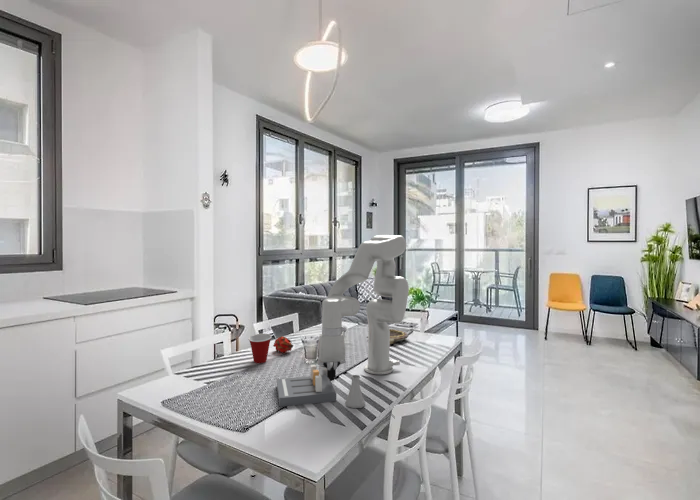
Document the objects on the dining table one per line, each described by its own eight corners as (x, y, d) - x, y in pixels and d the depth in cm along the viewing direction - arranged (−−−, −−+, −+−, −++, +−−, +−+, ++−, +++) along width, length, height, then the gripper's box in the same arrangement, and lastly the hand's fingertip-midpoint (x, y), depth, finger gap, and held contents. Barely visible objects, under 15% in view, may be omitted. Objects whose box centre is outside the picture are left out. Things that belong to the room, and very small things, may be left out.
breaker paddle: (317, 382, 142) (317, 369, 142) (318, 385, 140) (319, 371, 140) (312, 383, 142) (312, 370, 142) (313, 385, 139) (313, 372, 139)
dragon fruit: (276, 352, 196) (291, 360, 189) (266, 345, 190) (281, 353, 183) (284, 337, 199) (300, 345, 192) (275, 330, 193) (290, 338, 186)
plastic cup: (243, 363, 173) (243, 337, 172) (257, 356, 183) (257, 332, 182) (262, 366, 169) (262, 340, 168) (276, 359, 179) (276, 334, 178)
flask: (363, 410, 127) (364, 381, 127) (343, 407, 128) (343, 379, 128) (367, 401, 134) (367, 373, 134) (347, 399, 135) (347, 371, 135)
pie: (367, 333, 233) (368, 325, 232) (412, 335, 230) (412, 327, 230) (365, 346, 205) (365, 337, 205) (415, 348, 202) (415, 339, 202)
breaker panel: (326, 382, 151) (327, 362, 151) (336, 401, 134) (336, 378, 133) (276, 386, 146) (276, 365, 146) (279, 406, 129) (279, 383, 128)
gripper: (348, 328, 147) (348, 374, 148) (310, 330, 143) (310, 377, 144) (353, 332, 140) (352, 381, 140) (313, 334, 136) (313, 384, 137)
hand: (331, 379), depth 142 cm, fingers closed
